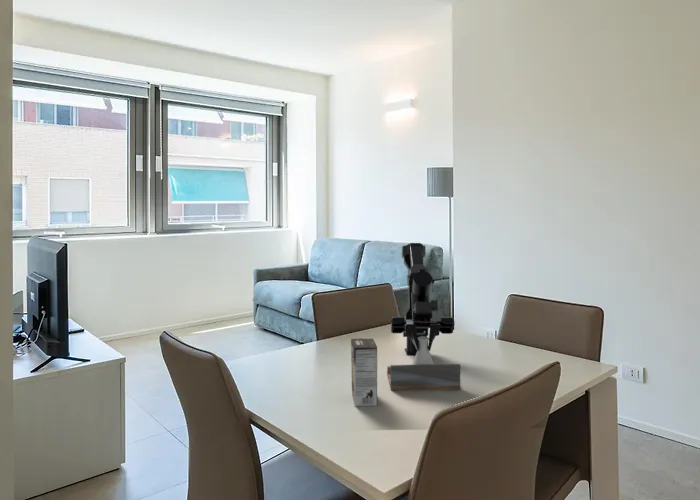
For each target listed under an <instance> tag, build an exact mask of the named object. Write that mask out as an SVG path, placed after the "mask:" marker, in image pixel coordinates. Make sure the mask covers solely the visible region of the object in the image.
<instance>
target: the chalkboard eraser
mask: <svg viewBox="0 0 700 500" xmlns="http://www.w3.org/2000/svg"><path fill="white" fill-rule="evenodd" d="M386 368H387V369H386V376H387V380H388V385H389V388H390V389H389V390H390V391H450V390H451V391H454V390H455V391H459V390H461V364H459V363H455V364H454V363H447V364H445V363H443V364H442V363H439V364H438V363H435V364H420V365H412V364H390V365H389V366H388V365H387V366H386Z"/></svg>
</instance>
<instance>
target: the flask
mask: <svg viewBox="0 0 700 500" xmlns="http://www.w3.org/2000/svg"><path fill="white" fill-rule="evenodd" d="M418 340H419V351H417V353H416V355H415V356H414V358H413V362H412V364H411V365H420V364H434V361H433V358H432V356H431V352H430V351H429V348H428V346H429V336H427V337H424V336H422V337H418Z"/></svg>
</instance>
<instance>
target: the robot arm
mask: <svg viewBox="0 0 700 500" xmlns="http://www.w3.org/2000/svg"><path fill="white" fill-rule="evenodd" d="M426 251H427V250H426V245H423V243H421V242H409V243H407V244H406V245H403V246H402V248H401V258H402V259H403V264H404V266H405V267H406V269H407V277H406V284H407V286H408V309H407V311H406V313H405V315H404V316H392V317H391V320H390V321H391V322H390V332H391V333H392V334H402V338H406V348H404V352H405V354H406V355H411V356H413V355H416V353H417V351H419V340H418V337H422V336H424V337H428V338H429V340H428V348H429V352H430V351H431V350H432V346H433V343H434V340H435V338H436V337H437V336H440V333H441V334H444V335H446V334H447V335H451V334H453V333H454V328H455V325H456V324H455V323H456V322H455V319H454V317H452V316H440V319H439V320H437V321H436V320H432V319H433V312H434V313H436V312H438V311H439V303H438V300H437V299H436V300H435V299H434V300H433V299H432V300H431V299H430V298H431V297H430V295H431V291H432V286H433V284H435V279H434V278H433V276H432V274H430V272H429V268H428V267H426V266H425V262H424V258H425V257H426V256H427V253H426Z"/></svg>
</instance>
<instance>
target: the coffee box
mask: <svg viewBox="0 0 700 500" xmlns="http://www.w3.org/2000/svg"><path fill="white" fill-rule="evenodd" d="M350 347H351V349H350V351H351V352H350V355H351V358H350V360H351V361H350V362H351V366H350V367H351V397H352V401H353V404H354V407H365V406H367V407H368V406H372V407H373V406H378V346H377V344H376V341H375V340H374V338H350Z"/></svg>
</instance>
